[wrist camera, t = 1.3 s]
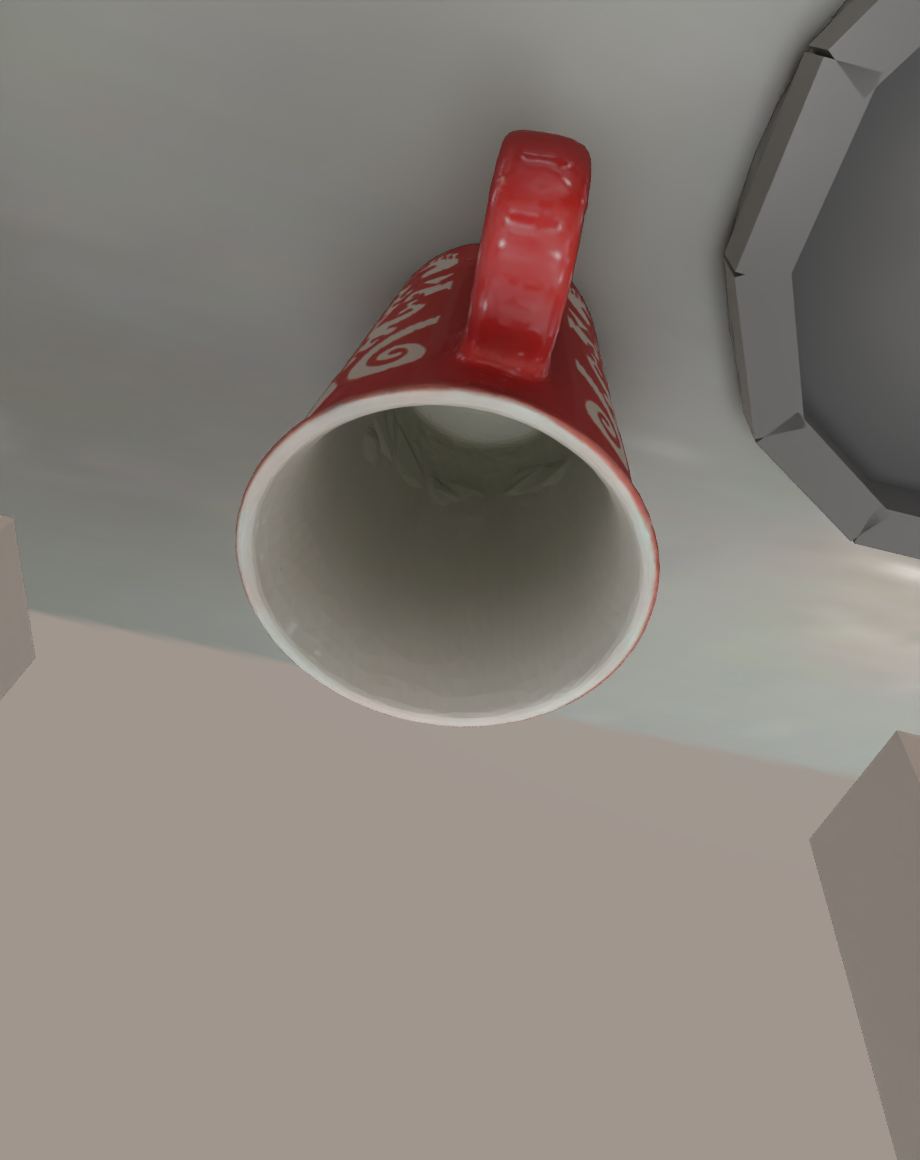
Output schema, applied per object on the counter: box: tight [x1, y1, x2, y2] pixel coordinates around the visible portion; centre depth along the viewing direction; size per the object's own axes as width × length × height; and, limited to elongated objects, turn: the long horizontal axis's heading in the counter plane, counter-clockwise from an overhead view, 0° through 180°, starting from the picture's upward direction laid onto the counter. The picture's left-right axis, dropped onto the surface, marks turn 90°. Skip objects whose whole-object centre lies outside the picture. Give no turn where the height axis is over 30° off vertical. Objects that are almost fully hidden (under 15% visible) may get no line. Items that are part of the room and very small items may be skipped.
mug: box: [236, 130, 660, 727], centre depth 21 cm, size 13×9×14 cm
